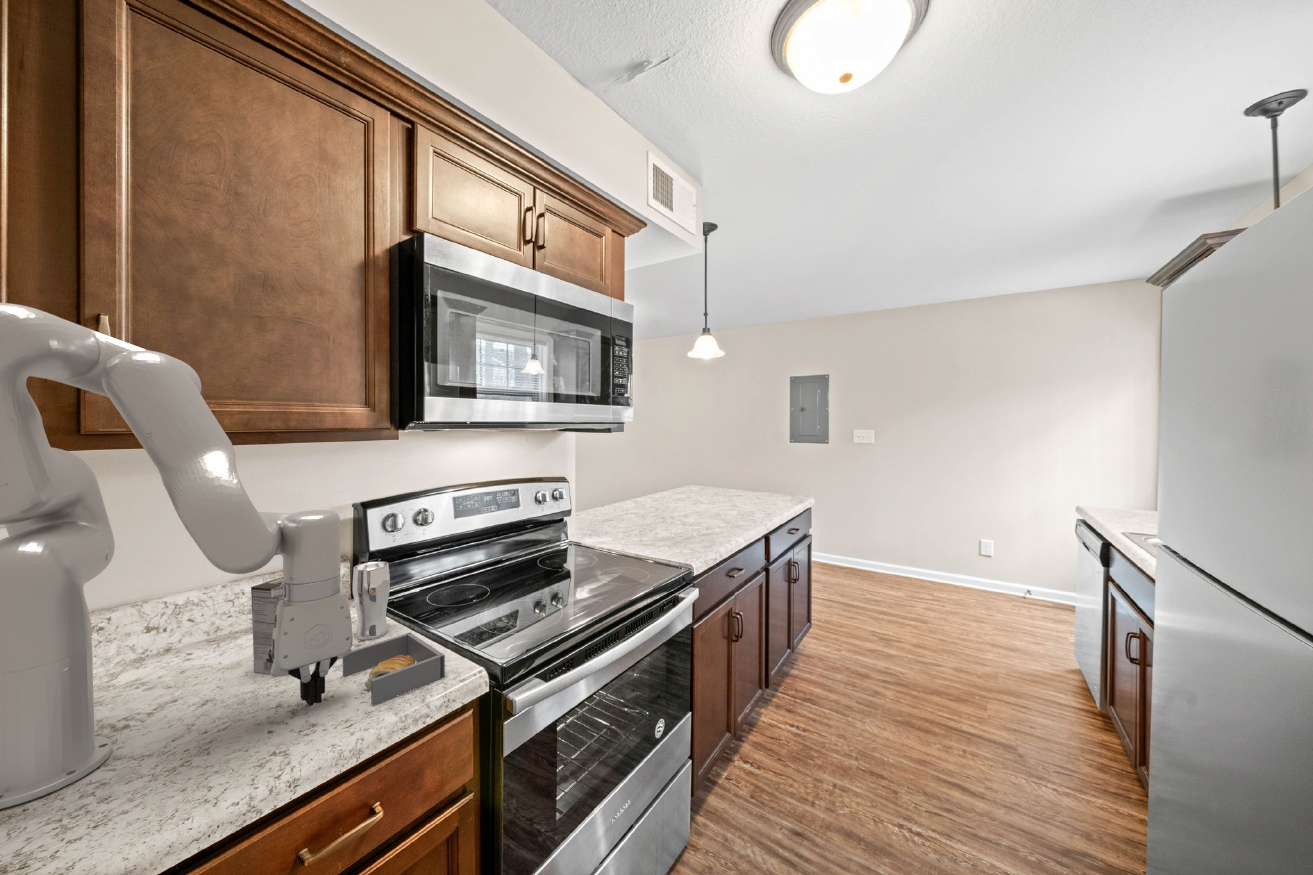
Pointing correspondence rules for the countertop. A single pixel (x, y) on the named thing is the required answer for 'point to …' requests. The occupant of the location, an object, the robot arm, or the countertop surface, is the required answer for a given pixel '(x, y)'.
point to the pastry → (389, 667)
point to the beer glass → (371, 599)
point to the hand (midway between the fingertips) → (312, 700)
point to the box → (402, 679)
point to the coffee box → (263, 623)
